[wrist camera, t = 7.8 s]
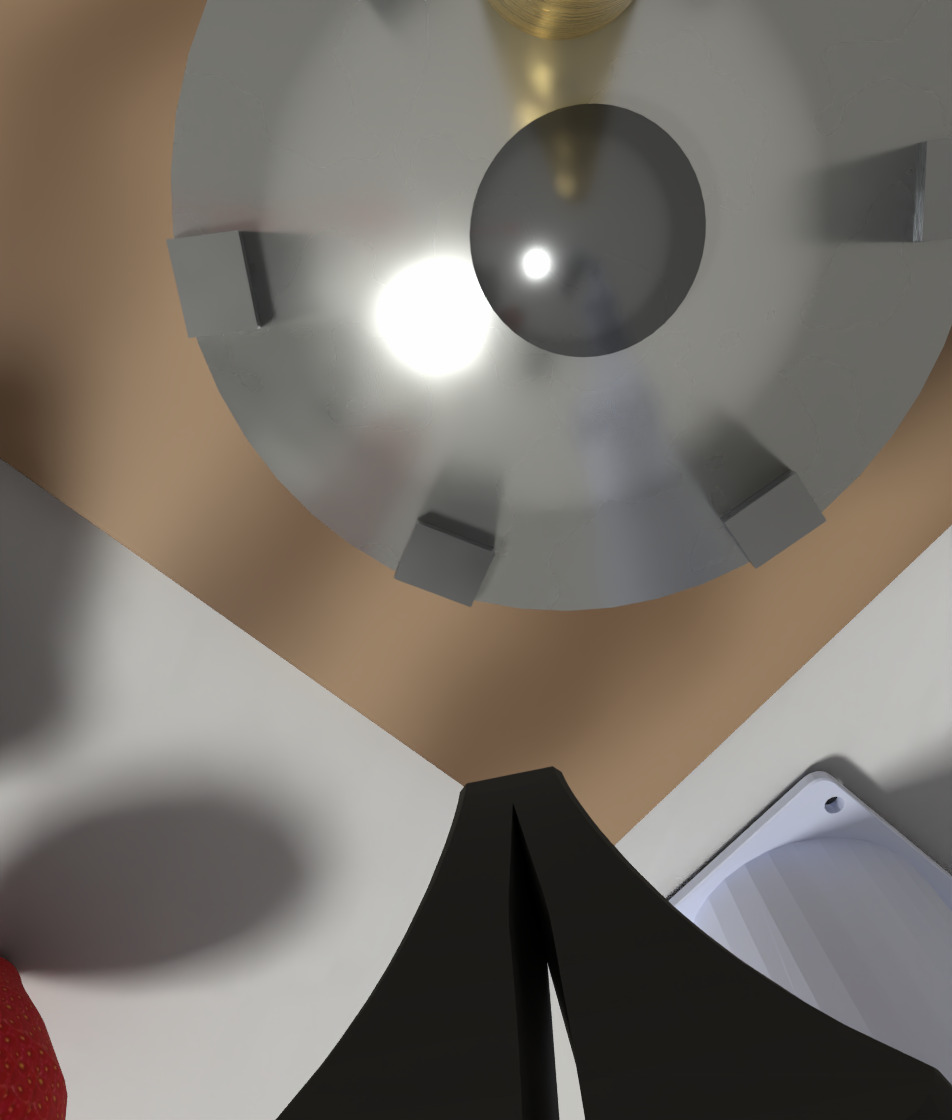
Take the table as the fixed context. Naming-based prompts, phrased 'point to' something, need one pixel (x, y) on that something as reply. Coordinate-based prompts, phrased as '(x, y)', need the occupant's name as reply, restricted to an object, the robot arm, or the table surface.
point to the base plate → (307, 543)
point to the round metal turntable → (566, 272)
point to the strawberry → (26, 1057)
